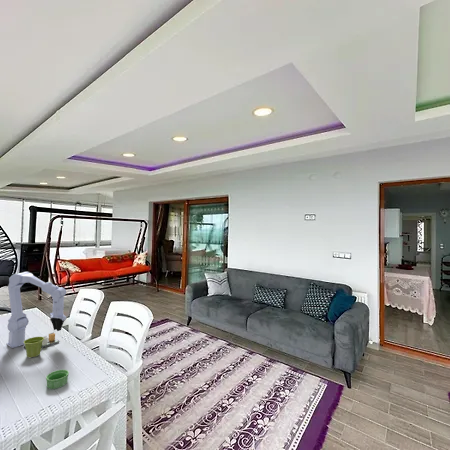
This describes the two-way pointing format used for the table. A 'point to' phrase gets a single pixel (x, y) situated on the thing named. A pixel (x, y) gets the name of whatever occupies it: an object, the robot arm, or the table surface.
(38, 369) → the table surface
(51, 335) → the breaker orange
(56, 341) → the panel
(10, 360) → the table surface
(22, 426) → the table surface
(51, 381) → the ramekin
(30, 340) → the plant pot
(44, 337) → the white breaker
